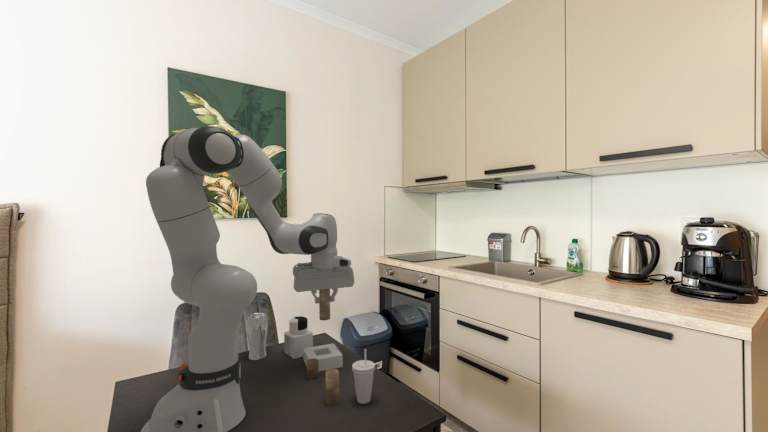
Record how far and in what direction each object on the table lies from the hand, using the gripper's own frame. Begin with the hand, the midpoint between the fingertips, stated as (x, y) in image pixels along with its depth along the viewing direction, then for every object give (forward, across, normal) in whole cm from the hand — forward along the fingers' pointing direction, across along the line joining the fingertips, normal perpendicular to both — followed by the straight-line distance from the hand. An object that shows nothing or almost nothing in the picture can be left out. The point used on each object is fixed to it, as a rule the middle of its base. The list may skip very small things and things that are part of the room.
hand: (324, 302), depth 113 cm
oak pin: (+21, -3, -22) cm, 31 cm away
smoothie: (+22, +5, -25) cm, 34 cm away
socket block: (+21, -1, +2) cm, 21 cm away
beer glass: (+22, -21, +16) cm, 34 cm away
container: (+22, -7, +13) cm, 26 cm away
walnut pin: (+21, -6, -7) cm, 23 cm away
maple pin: (+6, 0, 0) cm, 6 cm away
